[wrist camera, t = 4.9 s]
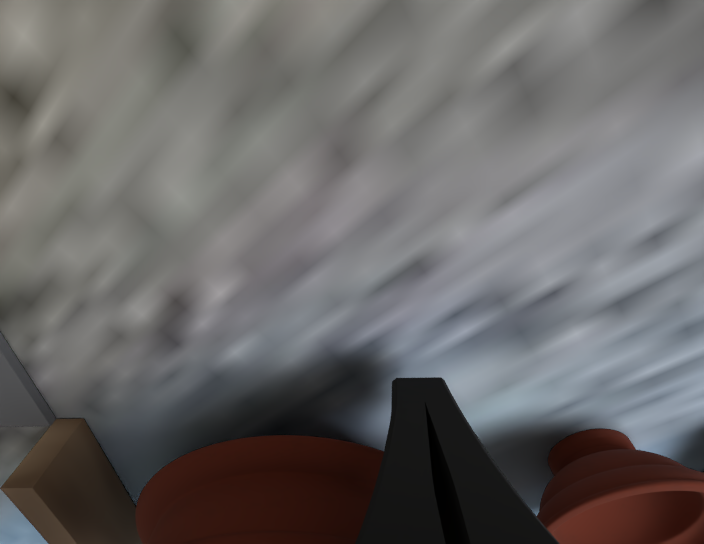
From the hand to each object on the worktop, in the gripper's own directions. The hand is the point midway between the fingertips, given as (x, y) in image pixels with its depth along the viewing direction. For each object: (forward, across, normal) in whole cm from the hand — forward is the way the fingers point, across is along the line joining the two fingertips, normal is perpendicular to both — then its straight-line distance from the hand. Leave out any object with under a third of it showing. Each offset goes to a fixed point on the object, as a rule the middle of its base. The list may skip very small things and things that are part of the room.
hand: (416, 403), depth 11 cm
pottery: (+2, 0, +6) cm, 6 cm away
